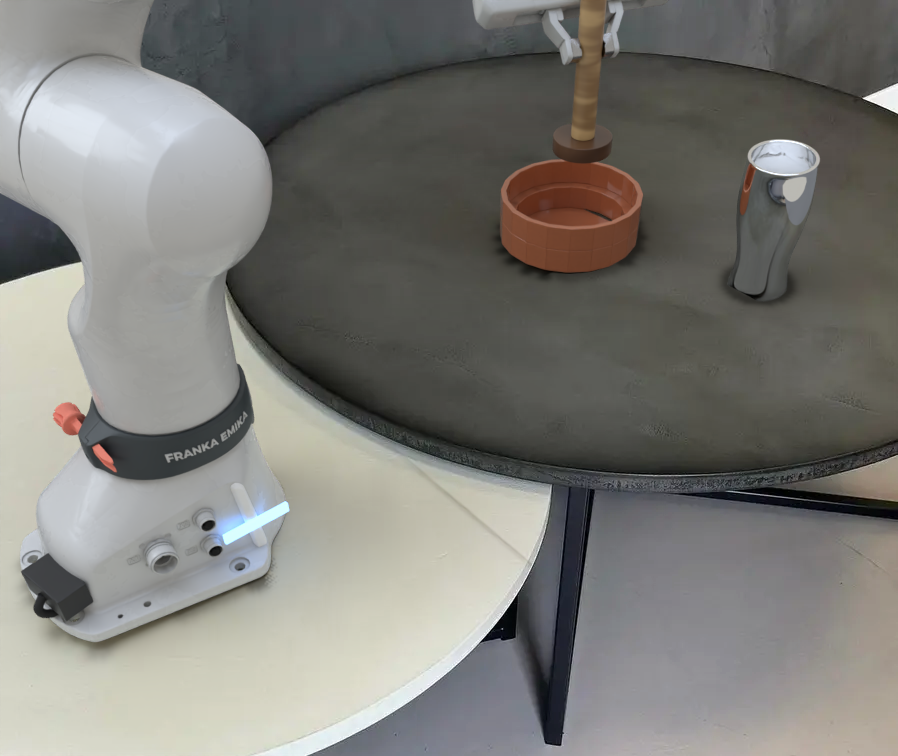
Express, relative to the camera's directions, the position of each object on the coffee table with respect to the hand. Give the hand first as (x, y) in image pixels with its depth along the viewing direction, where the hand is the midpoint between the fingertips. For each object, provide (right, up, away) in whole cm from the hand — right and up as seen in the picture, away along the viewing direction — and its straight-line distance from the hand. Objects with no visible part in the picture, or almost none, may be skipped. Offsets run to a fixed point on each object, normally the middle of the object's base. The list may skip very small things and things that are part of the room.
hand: (591, 58), depth 94 cm
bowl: (0, -13, +17) cm, 21 cm away
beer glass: (+19, -20, +10) cm, 29 cm away
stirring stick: (0, -6, +7) cm, 9 cm away
